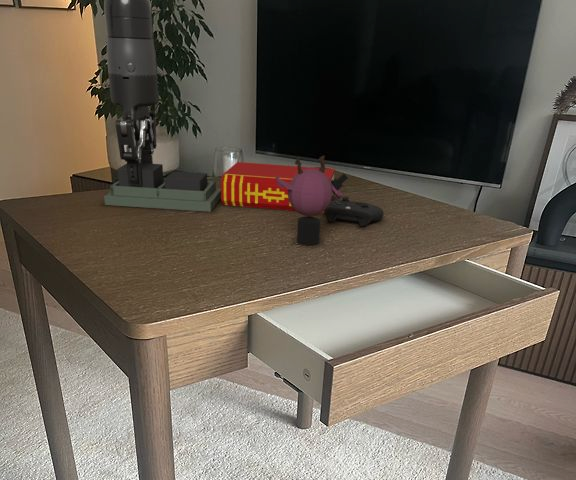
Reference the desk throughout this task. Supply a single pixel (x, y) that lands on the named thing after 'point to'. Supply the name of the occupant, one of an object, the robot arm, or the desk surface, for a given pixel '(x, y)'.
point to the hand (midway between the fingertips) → (141, 180)
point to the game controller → (353, 211)
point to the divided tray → (164, 197)
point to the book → (260, 185)
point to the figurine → (311, 198)
